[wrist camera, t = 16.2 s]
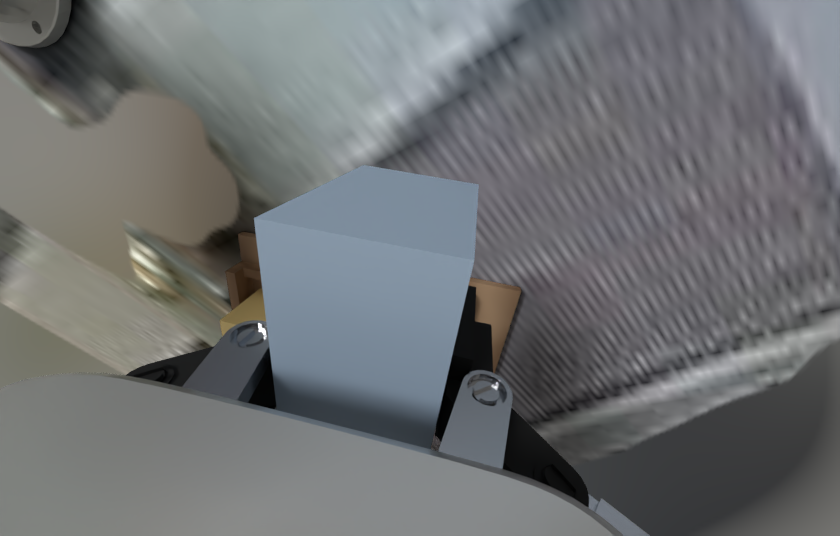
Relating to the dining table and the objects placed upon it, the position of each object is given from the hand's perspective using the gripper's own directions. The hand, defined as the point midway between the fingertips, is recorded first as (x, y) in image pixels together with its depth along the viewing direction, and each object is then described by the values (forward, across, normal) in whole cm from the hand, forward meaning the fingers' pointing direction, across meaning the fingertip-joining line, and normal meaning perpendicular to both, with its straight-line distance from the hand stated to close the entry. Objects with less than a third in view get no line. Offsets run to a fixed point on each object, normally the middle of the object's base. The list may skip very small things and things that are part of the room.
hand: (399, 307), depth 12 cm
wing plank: (+1, 0, 0) cm, 1 cm away
